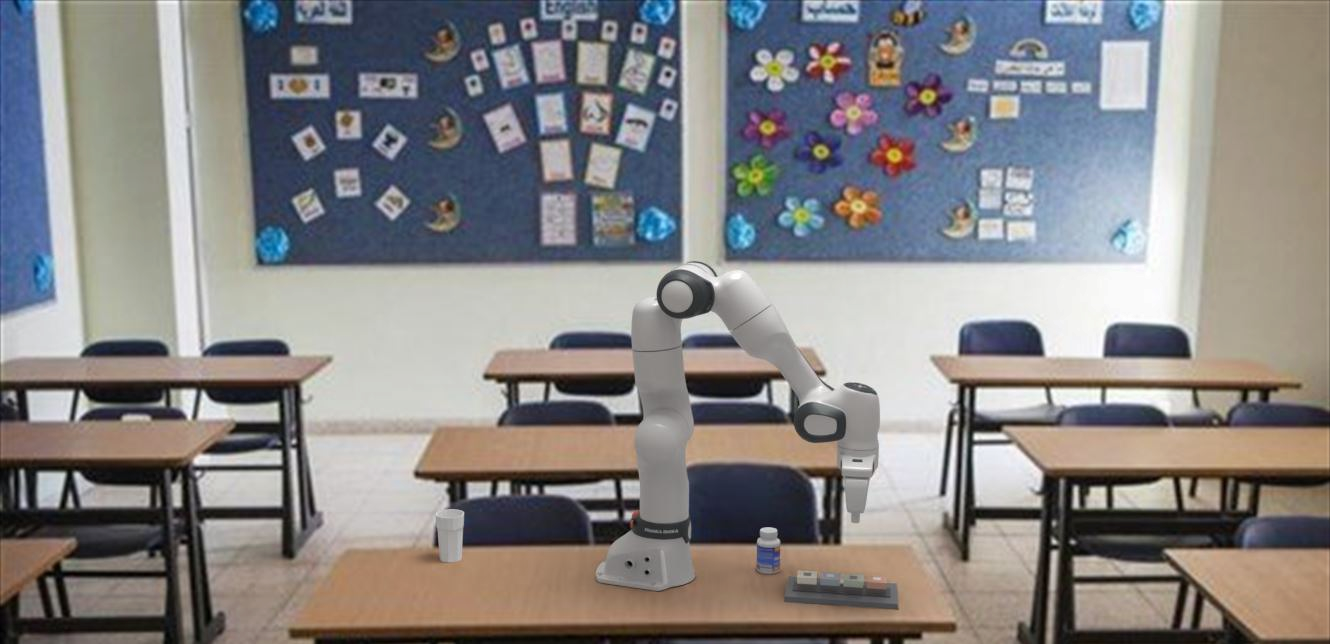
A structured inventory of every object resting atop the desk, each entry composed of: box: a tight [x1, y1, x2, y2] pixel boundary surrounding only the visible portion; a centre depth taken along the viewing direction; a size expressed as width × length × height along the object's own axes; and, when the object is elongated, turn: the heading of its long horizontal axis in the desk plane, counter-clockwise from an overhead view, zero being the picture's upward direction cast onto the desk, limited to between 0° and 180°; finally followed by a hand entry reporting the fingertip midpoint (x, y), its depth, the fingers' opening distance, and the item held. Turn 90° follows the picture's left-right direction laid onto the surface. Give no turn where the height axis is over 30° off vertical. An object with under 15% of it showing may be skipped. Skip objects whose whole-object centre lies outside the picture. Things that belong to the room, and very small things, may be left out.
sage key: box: [843, 573, 864, 588], centre depth 271 cm, size 4×4×2 cm
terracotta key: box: [866, 574, 888, 589], centre depth 270 cm, size 4×4×2 cm
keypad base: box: [784, 575, 899, 610], centre depth 272 cm, size 24×12×2 cm, turn 81°
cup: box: [435, 508, 465, 564], centre depth 292 cm, size 7×7×11 cm
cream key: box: [796, 569, 818, 585], centre depth 273 cm, size 4×4×2 cm
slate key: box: [819, 571, 841, 586], centre depth 272 cm, size 4×4×2 cm
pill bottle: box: [756, 526, 781, 575], centre depth 286 cm, size 5×5×10 cm
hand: (855, 520), depth 269 cm, fingers closed
